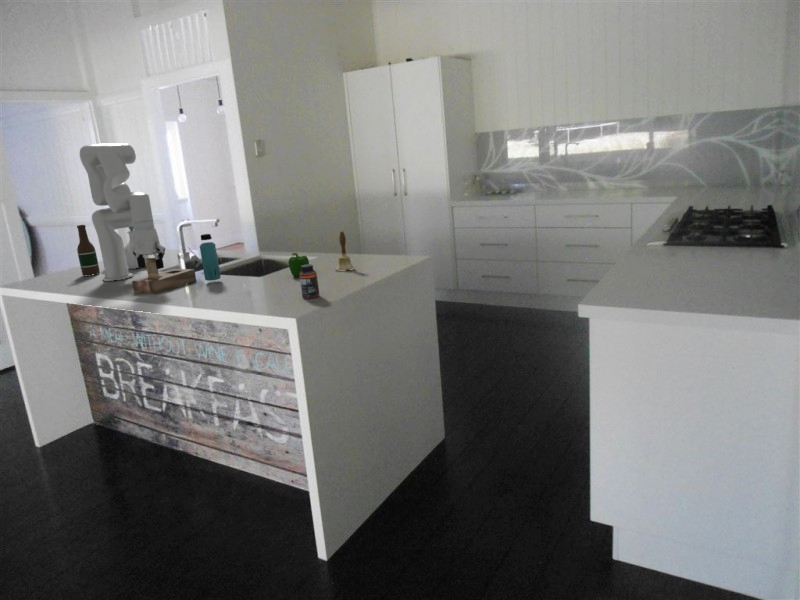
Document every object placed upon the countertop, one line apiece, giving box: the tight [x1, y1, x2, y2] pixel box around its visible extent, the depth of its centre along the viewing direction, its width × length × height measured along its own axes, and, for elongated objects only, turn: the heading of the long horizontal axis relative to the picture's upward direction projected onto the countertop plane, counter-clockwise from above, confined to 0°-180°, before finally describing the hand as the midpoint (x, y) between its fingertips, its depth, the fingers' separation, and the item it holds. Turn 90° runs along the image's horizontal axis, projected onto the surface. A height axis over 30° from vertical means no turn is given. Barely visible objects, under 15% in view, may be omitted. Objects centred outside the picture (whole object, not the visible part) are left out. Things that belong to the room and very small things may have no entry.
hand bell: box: [335, 231, 355, 271], centre depth 250 cm, size 8×8×16 cm
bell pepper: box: [288, 252, 310, 278], centre depth 246 cm, size 8×8×10 cm
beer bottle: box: [76, 224, 101, 276], centre depth 288 cm, size 8×8×24 cm
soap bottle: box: [124, 226, 150, 270], centre depth 297 cm, size 10×10×23 cm
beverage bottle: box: [199, 233, 221, 282], centre depth 246 cm, size 6×7×20 cm
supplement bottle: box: [299, 263, 320, 300], centre depth 208 cm, size 6×6×11 cm
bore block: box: [131, 268, 197, 295], centre depth 247 cm, size 12×22×5 cm, turn 156°
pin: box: [145, 256, 160, 280], centre depth 241 cm, size 4×4×12 cm
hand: (151, 268), depth 241 cm, fingers open, 9 cm apart
